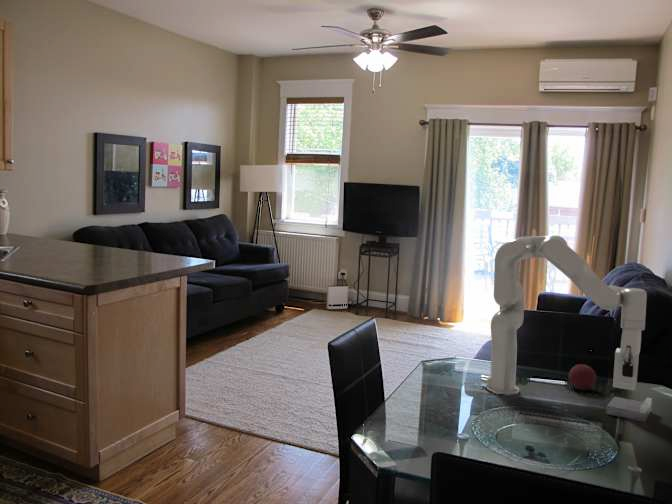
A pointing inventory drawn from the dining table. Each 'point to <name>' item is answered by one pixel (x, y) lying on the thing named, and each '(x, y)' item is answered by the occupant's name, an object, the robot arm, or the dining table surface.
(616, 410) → the stand plate
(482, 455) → the dining table surface
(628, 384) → the supplement box
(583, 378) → the decorative ball
